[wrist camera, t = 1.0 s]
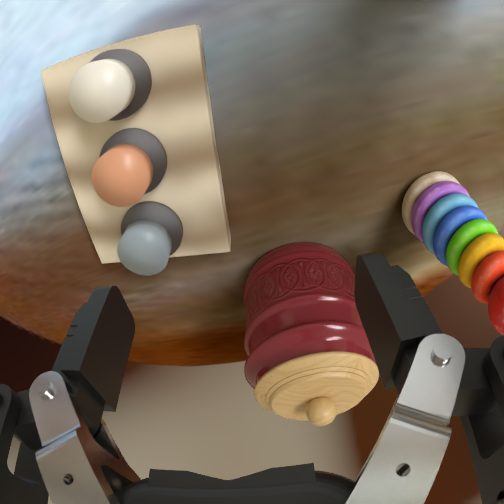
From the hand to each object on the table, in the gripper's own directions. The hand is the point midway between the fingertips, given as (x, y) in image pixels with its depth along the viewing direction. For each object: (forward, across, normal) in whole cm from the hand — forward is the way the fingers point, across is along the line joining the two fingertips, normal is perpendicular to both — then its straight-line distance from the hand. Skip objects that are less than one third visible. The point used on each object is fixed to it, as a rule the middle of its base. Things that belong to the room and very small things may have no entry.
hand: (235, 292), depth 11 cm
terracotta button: (+16, +9, 0) cm, 18 cm away
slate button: (+16, +9, +7) cm, 20 cm away
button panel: (+21, +9, 0) cm, 22 cm away
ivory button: (+16, +9, -7) cm, 19 cm away
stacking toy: (+21, -20, +9) cm, 30 cm away
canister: (+21, -4, +19) cm, 28 cm away
